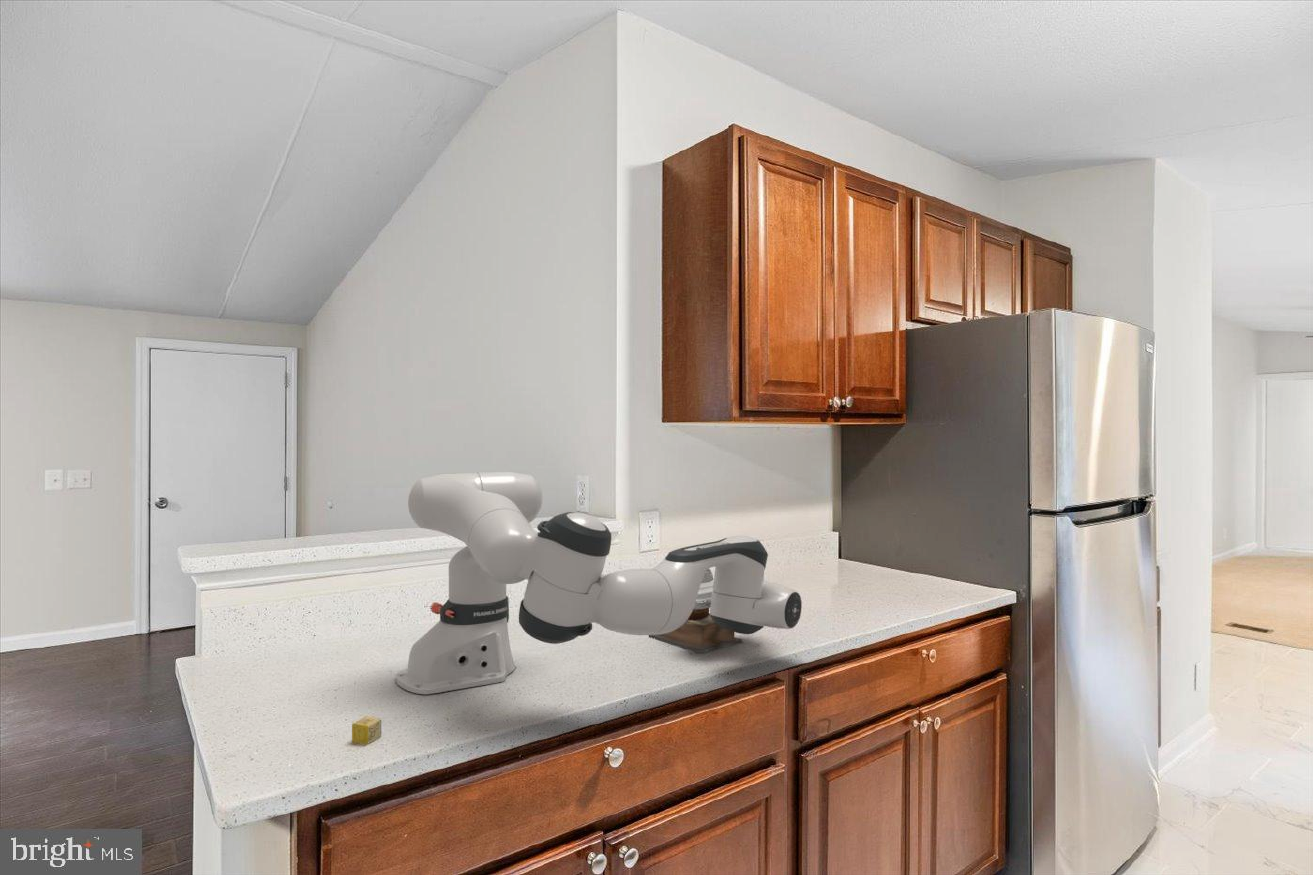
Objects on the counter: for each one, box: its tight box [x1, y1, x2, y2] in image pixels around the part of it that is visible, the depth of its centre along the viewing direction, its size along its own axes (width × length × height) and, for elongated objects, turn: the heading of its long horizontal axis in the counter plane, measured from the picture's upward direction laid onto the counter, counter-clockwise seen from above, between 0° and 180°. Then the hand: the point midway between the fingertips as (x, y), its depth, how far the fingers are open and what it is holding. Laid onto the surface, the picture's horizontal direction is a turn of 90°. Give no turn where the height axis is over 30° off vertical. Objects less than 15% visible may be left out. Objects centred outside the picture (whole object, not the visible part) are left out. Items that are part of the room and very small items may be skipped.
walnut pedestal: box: [648, 612, 743, 654], centre depth 167 cm, size 13×17×5 cm
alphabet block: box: [351, 715, 382, 746], centre depth 114 cm, size 3×3×3 cm
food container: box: [687, 568, 714, 620], centre depth 167 cm, size 12×6×10 cm, turn 129°
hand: (692, 586), depth 168 cm, fingers closed
